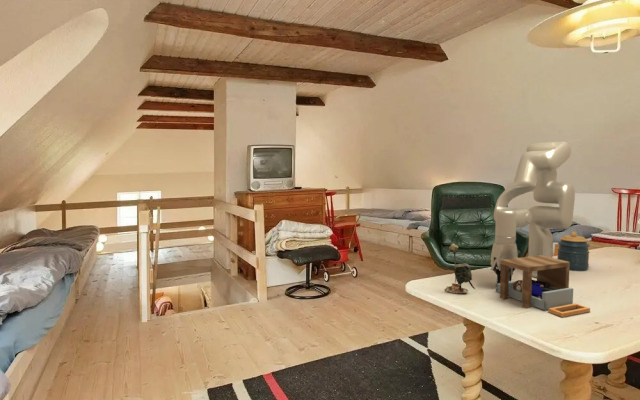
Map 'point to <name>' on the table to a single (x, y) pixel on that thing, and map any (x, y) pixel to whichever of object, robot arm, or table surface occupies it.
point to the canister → (574, 251)
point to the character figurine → (535, 287)
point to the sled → (543, 296)
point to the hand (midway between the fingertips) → (504, 284)
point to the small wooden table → (546, 272)
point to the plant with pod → (459, 274)
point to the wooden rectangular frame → (569, 310)
